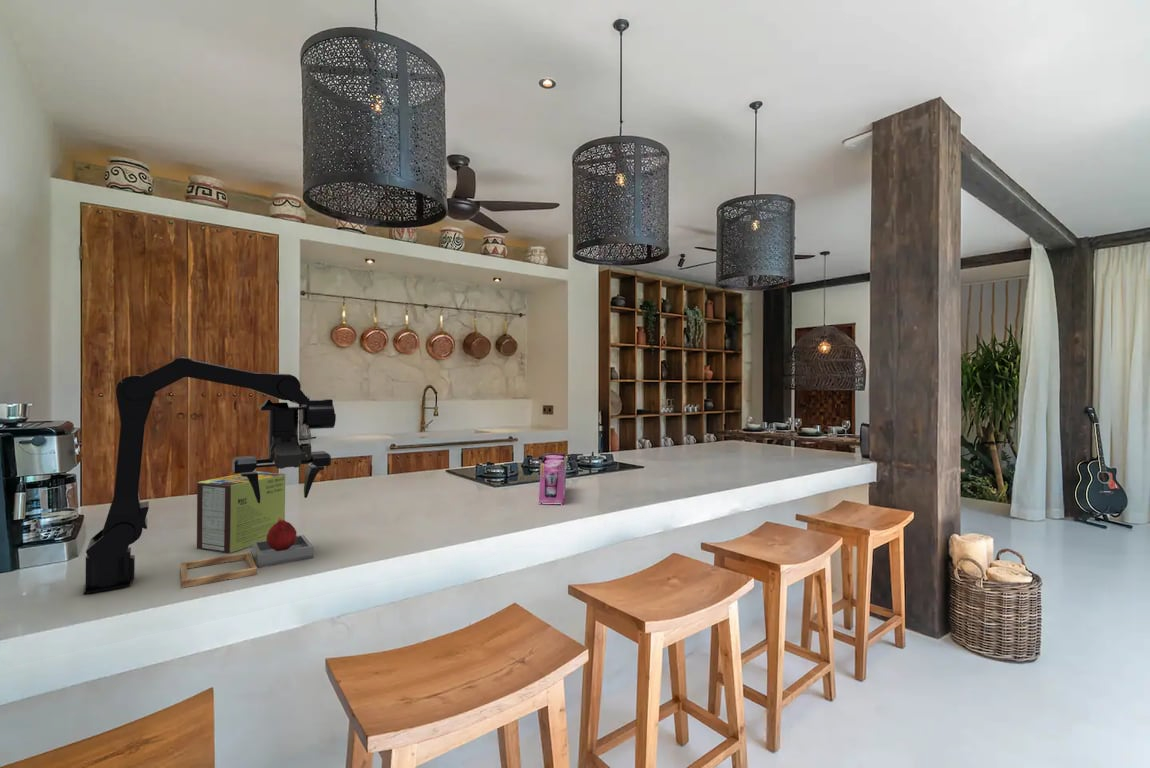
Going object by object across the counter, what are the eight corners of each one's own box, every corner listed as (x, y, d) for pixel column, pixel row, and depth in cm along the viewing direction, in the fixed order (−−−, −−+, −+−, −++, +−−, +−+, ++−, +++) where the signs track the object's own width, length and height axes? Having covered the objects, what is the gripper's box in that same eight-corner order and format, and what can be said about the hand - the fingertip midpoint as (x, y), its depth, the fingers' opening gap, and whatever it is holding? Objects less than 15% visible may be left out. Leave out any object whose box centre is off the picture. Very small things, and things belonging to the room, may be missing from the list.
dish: (257, 567, 110) (257, 555, 110) (251, 553, 118) (251, 542, 118) (313, 557, 116) (313, 546, 116) (303, 545, 125) (303, 534, 125)
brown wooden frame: (181, 588, 99) (181, 581, 99) (180, 568, 108) (180, 562, 108) (257, 574, 106) (257, 568, 106) (249, 557, 116) (249, 551, 116)
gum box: (562, 506, 168) (563, 464, 167) (538, 506, 168) (538, 463, 168) (565, 490, 191) (566, 453, 191) (544, 490, 192) (545, 453, 192)
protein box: (285, 534, 133) (286, 473, 132) (229, 554, 118) (230, 485, 118) (253, 530, 136) (254, 470, 135) (194, 548, 121) (195, 481, 121)
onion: (301, 547, 120) (301, 513, 119) (288, 558, 114) (287, 522, 114) (275, 546, 120) (275, 512, 119) (261, 557, 114) (260, 521, 114)
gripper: (237, 436, 105) (236, 514, 105) (337, 431, 116) (336, 501, 116) (232, 431, 114) (231, 502, 114) (325, 427, 125) (324, 492, 125)
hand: (282, 500), depth 117 cm, fingers open, 9 cm apart
